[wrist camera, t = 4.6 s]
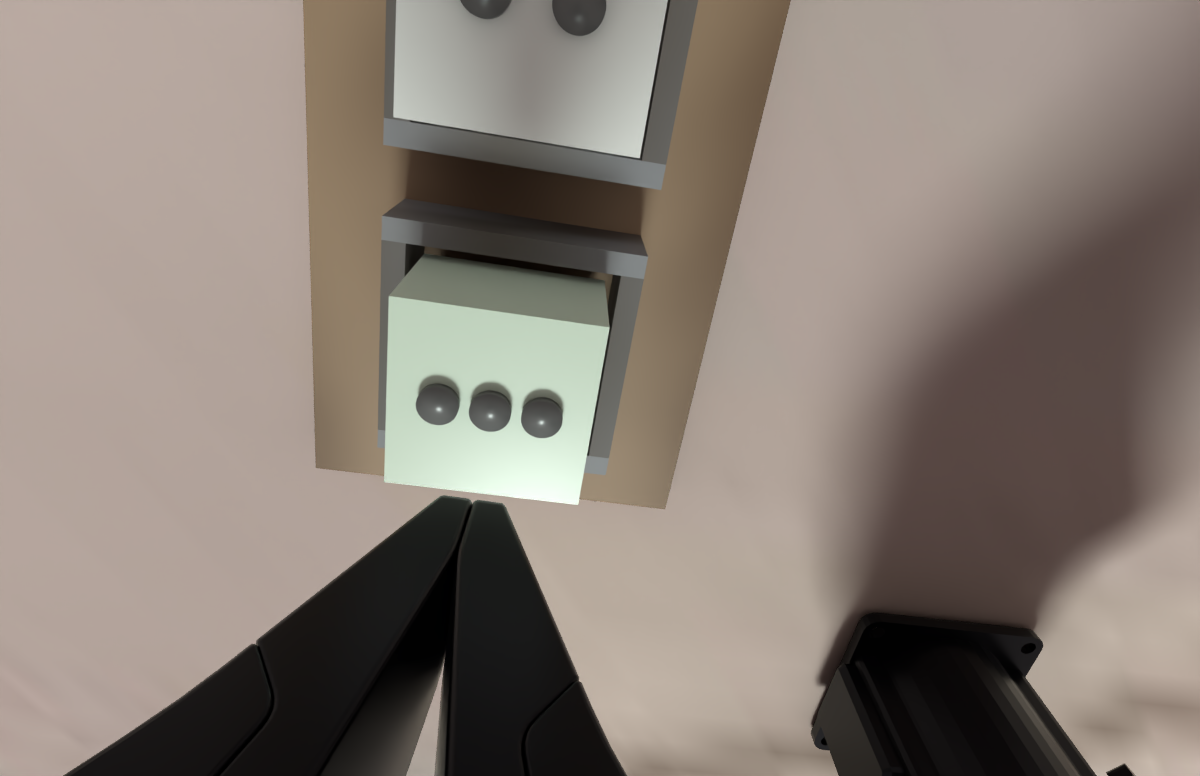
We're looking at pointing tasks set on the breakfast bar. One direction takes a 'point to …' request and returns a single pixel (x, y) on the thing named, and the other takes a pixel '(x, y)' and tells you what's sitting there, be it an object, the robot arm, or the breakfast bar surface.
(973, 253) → the breakfast bar surface
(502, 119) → the button white
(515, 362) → the button sage
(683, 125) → the button board
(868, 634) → the robot arm
